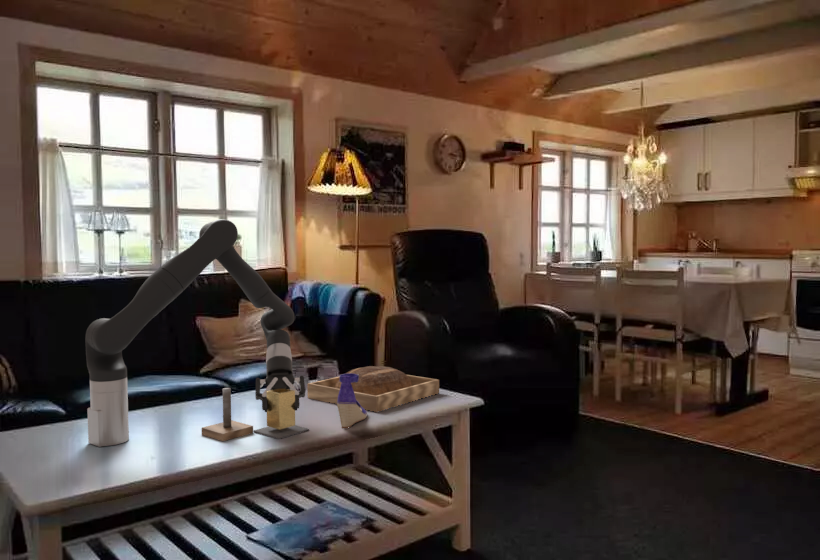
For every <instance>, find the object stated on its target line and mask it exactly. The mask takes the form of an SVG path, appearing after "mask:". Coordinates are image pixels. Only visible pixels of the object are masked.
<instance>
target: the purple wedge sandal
mask: <svg viewBox="0 0 820 560" xmlns="http://www.w3.org/2000/svg"><path fill="white" fill-rule="evenodd" d="M339 377H340V382H341V387H340V391H339V395H338V399H337V404H336V405H337V409H338V410H337V411H338V416H339V421H340V426H341V429H343V428H348V427H350V428H352V427H353V426H352V425H354V424H356V423H359V422H361V421H363V420H365V418H366V419H367V415H368V410H365V409H364V408H363V407H361V405H360V404H359V402H358V401H357V400H356V397H355V394H354V391H353V388H352V385H351V383H352V382H355V383H357V382H358V379H359V374H358V375H356V374H352V373H351V374H346V373H343V374H339ZM359 407H361V408H359ZM351 426H352V427H351ZM348 429H349V428H348Z"/></svg>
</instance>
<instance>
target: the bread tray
mask: <svg viewBox="0 0 820 560" xmlns="http://www.w3.org/2000/svg"><path fill="white" fill-rule="evenodd" d="M406 375H407V376H408V377H409V379H410V380H411V383H412V386H410V387H407V388H403V389H399V390H395V391H392V392H388V393H384V394H380V395H377V396H375V395H370V394H365V393H359V392H354V394H355V397H356V400H357V401H358V402H359V404H360V405H361V407H363V408H364V409H366V411H368V410H370V411H369V412H372V411H374V412H373V413H378V411H379V412H382V410H383V411H385V409H386V410H389V409H388V408H390V409H392V408H391V407H393V408H395V406H396V407H398V405H400V406H402V405H401V404H403V405H406V404H409V403H408V402H410V403H413V402H416V401H419V400H418V399H420V400H422V399H421V398H423V399H426V398H425V397H427V398H429V397H428V396H430V397H432V396H431V395H433V396H436V395H435V394H437V395H439V394H440V379H437V378H431V377H424V376H416V375H411V374H406ZM339 379H340V376H336V377H335V376H334V377H330V378H327V379H323V380H318V381H313V382H308V383H307V385H306V386H307V388H306V390H307V391H306V392H307V399H309V400H310V399H311V400H315V401H319V402H324V403H325V402H326V403H329V402H330V403H329V404H334V403H335V405H337V399H338V395H339V391H340V389H338V388H335V386H336V383H337V382H338V380H339ZM438 393H439V394H438ZM415 400H416V401H415ZM412 401H413V402H412ZM405 403H406V404H405ZM361 407H359V408H361Z"/></svg>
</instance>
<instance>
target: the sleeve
mask: <svg viewBox="0 0 820 560" xmlns="http://www.w3.org/2000/svg"><path fill="white" fill-rule="evenodd" d="M266 392H267V412H266V427H268V426H269V427H272V428H276V429H279V430H280V429H284V428H287V427H291V426H295V425H296V410H295V390H290V389H286V388H284V389H274V390H269V391H266Z"/></svg>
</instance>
